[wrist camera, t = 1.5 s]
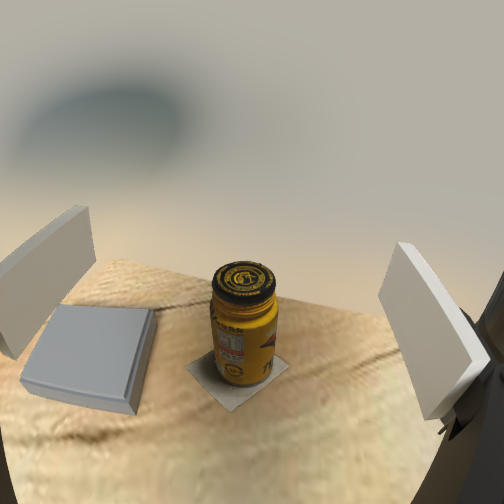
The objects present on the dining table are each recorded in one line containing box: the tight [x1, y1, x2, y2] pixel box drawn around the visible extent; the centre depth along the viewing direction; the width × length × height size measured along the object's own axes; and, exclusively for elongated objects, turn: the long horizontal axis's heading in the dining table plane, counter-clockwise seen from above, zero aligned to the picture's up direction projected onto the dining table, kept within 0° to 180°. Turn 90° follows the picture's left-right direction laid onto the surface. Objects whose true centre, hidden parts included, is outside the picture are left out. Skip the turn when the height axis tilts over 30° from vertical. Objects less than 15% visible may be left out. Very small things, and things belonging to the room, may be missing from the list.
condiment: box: [186, 261, 290, 412], centre depth 27 cm, size 7×8×12 cm
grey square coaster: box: [20, 304, 157, 415], centre depth 29 cm, size 14×13×3 cm
